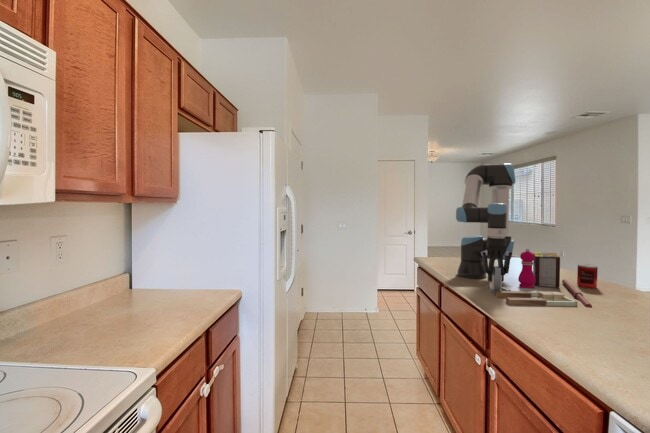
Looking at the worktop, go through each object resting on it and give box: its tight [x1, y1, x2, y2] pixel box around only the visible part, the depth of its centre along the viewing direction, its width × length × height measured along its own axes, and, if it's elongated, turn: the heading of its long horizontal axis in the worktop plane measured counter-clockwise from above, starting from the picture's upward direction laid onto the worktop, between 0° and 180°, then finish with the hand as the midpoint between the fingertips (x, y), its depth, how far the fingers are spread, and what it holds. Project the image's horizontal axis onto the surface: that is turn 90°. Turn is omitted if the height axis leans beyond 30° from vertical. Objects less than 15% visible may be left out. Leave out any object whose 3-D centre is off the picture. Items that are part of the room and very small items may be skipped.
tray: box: [529, 291, 578, 307], centre depth 133 cm, size 14×12×3 cm
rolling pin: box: [561, 279, 593, 308], centre depth 145 cm, size 45×3×3 cm, turn 152°
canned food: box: [576, 263, 599, 290], centre depth 158 cm, size 8×8×11 cm
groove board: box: [494, 290, 547, 307], centre depth 134 cm, size 14×14×3 cm
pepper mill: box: [517, 248, 536, 289], centre depth 155 cm, size 7×7×20 cm
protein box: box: [532, 251, 561, 289], centre depth 164 cm, size 10×15×16 cm
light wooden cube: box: [548, 291, 565, 301], centre depth 133 cm, size 4×4×4 cm
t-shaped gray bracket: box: [490, 265, 512, 295], centre depth 144 cm, size 6×7×13 cm
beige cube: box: [536, 291, 553, 301], centre depth 133 cm, size 4×4×4 cm
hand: (495, 288), depth 144 cm, fingers closed on t-shaped gray bracket, 3 cm apart
